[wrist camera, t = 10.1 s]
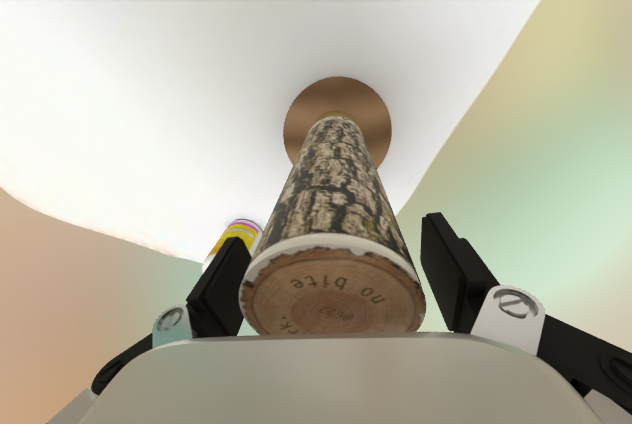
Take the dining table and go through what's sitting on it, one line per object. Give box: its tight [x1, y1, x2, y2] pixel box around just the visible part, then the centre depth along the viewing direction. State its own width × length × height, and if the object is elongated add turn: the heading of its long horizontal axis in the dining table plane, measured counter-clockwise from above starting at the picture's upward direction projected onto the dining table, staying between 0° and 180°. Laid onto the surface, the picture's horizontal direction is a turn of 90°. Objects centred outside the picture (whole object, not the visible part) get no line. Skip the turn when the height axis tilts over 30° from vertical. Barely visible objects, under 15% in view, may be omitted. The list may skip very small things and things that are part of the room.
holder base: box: [283, 77, 391, 169], centre depth 23 cm, size 14×14×17 cm
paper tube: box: [239, 111, 426, 335], centre depth 19 cm, size 7×7×25 cm
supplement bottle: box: [202, 220, 262, 273], centre depth 36 cm, size 7×7×13 cm
